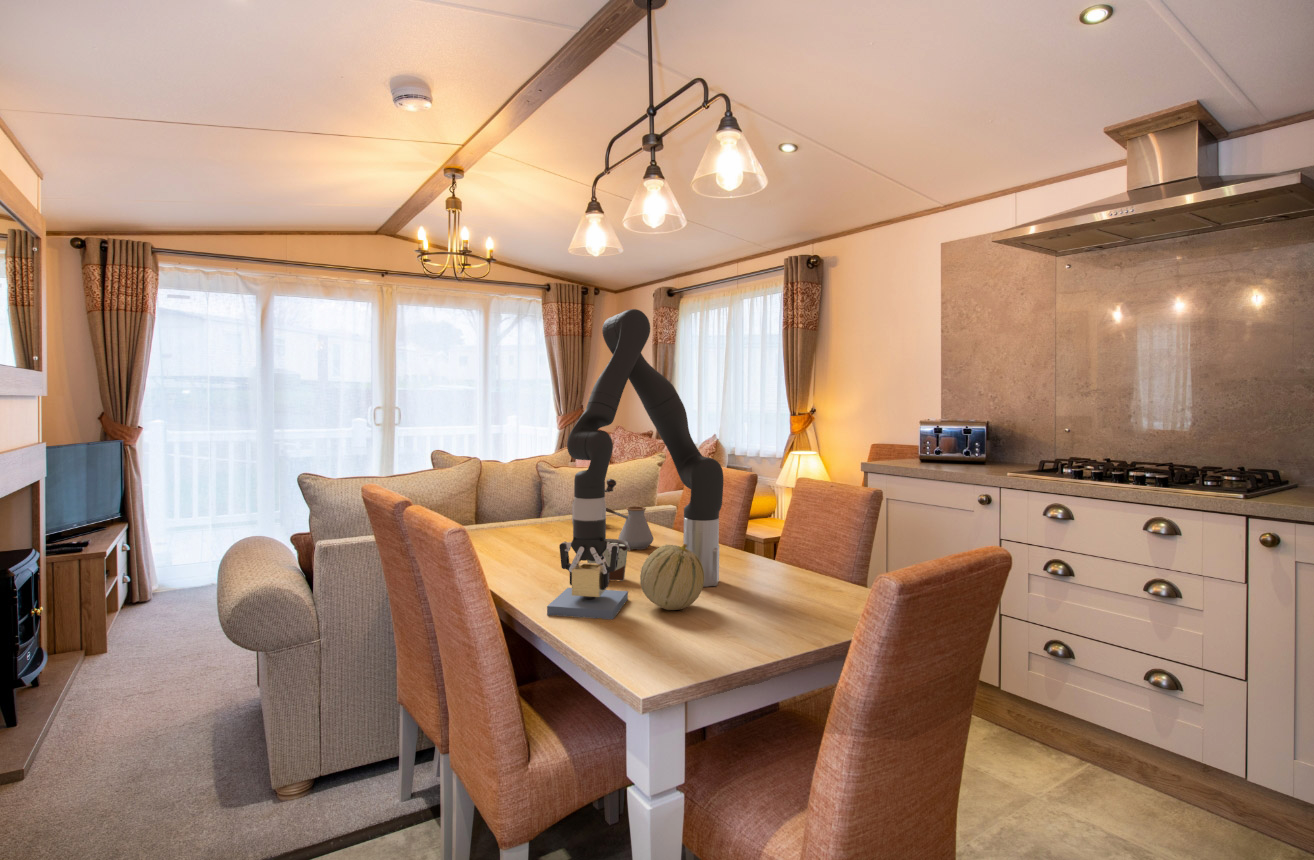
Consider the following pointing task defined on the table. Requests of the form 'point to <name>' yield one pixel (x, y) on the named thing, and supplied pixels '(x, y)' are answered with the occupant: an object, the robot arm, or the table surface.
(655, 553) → the cantaloupe
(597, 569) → the brass collar
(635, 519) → the coffee pot
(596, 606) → the post stand
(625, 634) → the table surface
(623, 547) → the food container
